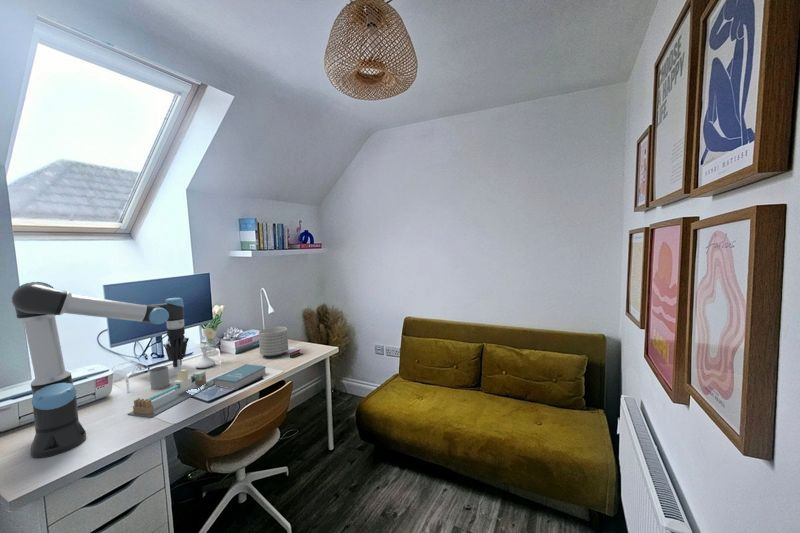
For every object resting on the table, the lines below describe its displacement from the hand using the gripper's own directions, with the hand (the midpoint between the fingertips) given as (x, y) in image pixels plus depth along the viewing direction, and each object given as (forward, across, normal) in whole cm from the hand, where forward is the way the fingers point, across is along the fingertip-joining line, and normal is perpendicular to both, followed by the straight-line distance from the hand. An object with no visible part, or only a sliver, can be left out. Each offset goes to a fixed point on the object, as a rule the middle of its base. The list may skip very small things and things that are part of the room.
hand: (177, 372), depth 168 cm
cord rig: (+13, -2, 0) cm, 13 cm away
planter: (+11, +66, -11) cm, 68 cm away
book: (+13, +24, -18) cm, 33 cm away
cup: (+13, +8, +22) cm, 27 cm away
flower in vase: (+12, +39, +21) cm, 46 cm away
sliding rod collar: (+9, +3, 0) cm, 10 cm away
